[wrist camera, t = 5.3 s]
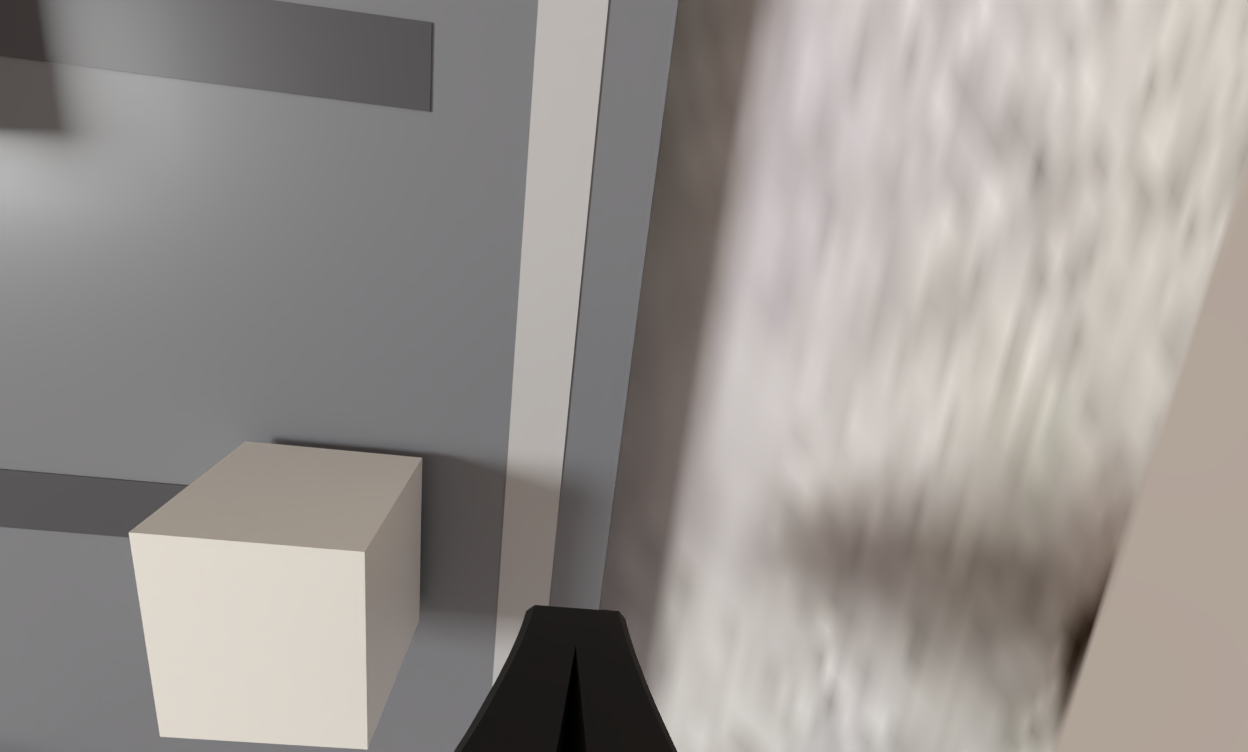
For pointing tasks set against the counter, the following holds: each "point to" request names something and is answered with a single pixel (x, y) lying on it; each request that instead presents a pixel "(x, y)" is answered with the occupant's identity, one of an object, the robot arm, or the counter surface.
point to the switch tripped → (281, 595)
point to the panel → (313, 310)
